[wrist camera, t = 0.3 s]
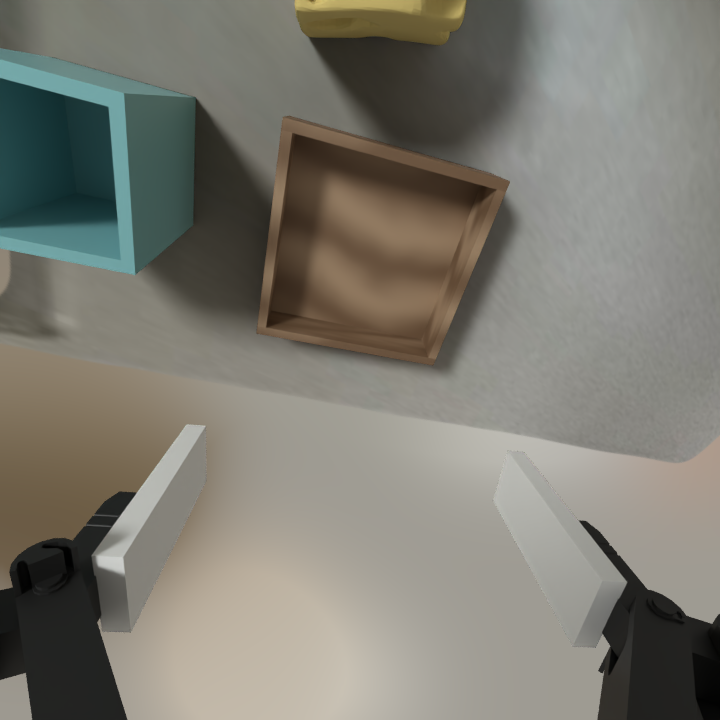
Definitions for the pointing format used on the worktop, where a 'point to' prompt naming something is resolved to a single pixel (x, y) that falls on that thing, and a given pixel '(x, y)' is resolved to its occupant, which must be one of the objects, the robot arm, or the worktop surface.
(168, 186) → the teal crate
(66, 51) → the worktop surface
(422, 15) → the cheese
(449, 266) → the walnut crate
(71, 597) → the robot arm
